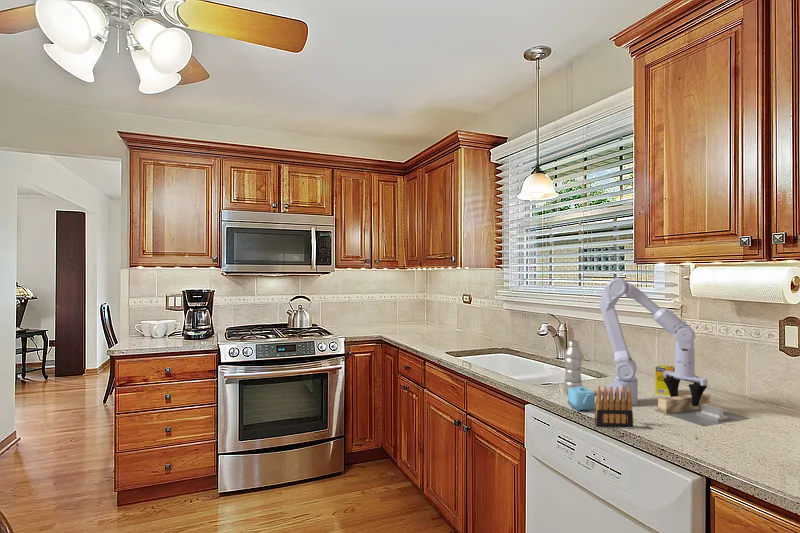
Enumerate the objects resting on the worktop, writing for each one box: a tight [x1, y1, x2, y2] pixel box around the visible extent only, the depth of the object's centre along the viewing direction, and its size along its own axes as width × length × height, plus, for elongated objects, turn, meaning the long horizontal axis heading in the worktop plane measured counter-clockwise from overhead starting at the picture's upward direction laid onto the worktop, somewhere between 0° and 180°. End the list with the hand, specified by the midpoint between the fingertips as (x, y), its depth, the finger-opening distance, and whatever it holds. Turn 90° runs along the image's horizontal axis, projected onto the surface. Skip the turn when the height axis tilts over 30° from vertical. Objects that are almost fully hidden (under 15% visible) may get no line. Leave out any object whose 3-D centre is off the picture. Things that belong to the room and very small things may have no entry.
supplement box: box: [654, 364, 675, 397], centre depth 181 cm, size 6×6×11 cm
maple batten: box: [657, 393, 711, 415], centre depth 160 cm, size 20×3×4 cm, turn 111°
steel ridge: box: [697, 404, 728, 422], centre depth 151 cm, size 4×7×4 cm, turn 21°
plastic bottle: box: [563, 339, 584, 394], centre depth 182 cm, size 6×7×20 cm
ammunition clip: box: [594, 385, 634, 429], centre depth 145 cm, size 11×2×12 cm, turn 86°
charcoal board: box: [654, 409, 752, 427], centre depth 154 cm, size 21×17×1 cm
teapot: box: [567, 385, 596, 412], centre depth 162 cm, size 12×6×8 cm, turn 3°
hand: (684, 402), depth 160 cm, fingers open, 7 cm apart
